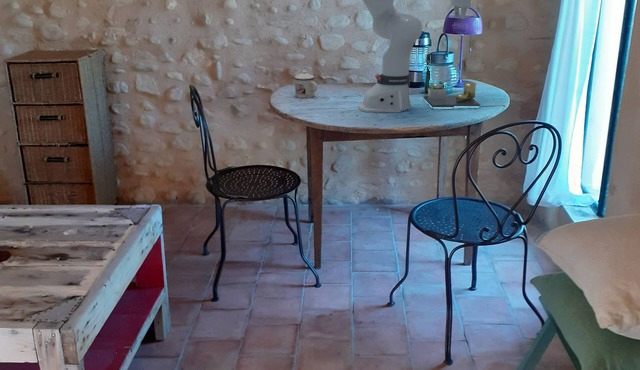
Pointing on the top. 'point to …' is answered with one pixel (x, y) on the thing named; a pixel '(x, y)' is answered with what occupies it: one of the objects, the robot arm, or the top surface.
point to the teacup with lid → (305, 85)
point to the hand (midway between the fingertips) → (459, 17)
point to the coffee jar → (427, 73)
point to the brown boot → (467, 91)
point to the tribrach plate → (445, 98)
